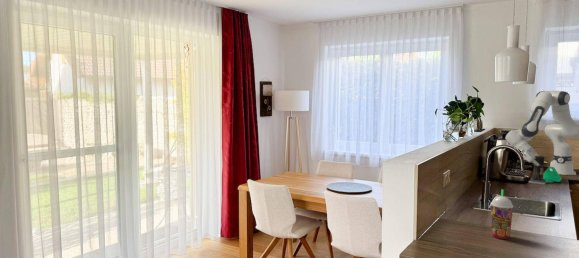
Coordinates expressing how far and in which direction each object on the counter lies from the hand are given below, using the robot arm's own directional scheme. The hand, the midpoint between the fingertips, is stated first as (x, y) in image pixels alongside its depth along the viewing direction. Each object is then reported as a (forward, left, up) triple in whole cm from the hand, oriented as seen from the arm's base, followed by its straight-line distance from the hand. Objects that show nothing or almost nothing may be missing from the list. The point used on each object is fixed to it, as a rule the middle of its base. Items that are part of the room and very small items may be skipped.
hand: (539, 164), depth 269 cm
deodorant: (0, -1, -10) cm, 10 cm away
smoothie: (+138, +14, -13) cm, 140 cm away
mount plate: (0, -1, -13) cm, 13 cm away
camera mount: (-11, +4, -13) cm, 18 cm away
